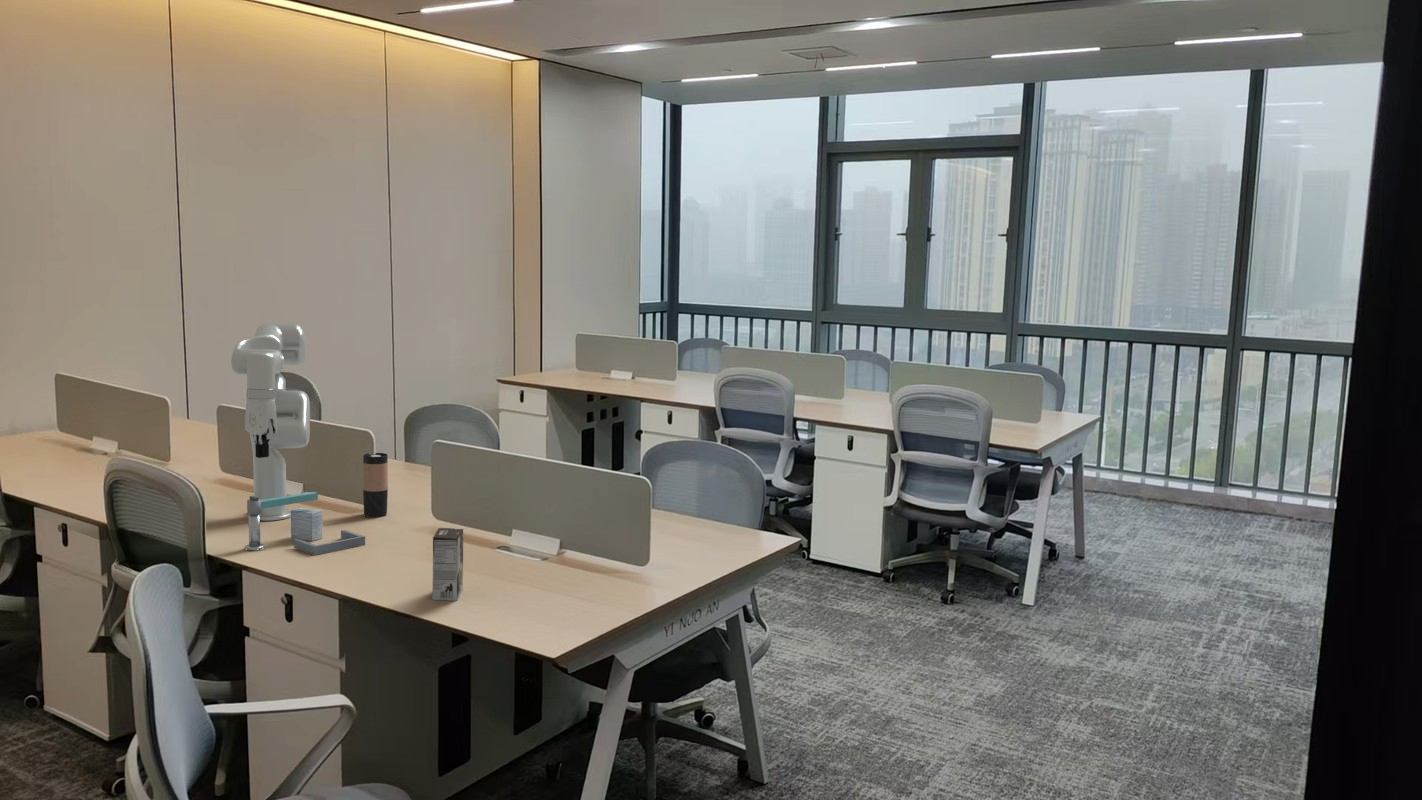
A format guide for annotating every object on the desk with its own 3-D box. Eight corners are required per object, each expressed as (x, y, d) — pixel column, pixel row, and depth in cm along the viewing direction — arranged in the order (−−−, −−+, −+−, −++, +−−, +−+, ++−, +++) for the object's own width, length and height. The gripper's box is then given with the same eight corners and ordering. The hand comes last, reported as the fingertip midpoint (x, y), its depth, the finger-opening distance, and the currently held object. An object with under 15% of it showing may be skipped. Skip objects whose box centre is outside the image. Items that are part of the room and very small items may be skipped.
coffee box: (438, 589, 261) (438, 527, 259) (463, 589, 262) (464, 528, 260) (431, 600, 252) (431, 536, 250) (457, 600, 253) (458, 537, 251)
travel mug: (380, 518, 330) (380, 457, 327) (358, 516, 331) (358, 455, 329) (392, 513, 337) (392, 453, 335) (370, 511, 339) (370, 451, 336)
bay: (294, 548, 292) (294, 539, 292) (344, 537, 305) (344, 529, 305) (314, 555, 286) (314, 546, 286) (365, 544, 299) (365, 536, 299)
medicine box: (322, 538, 304) (322, 510, 303) (312, 542, 300) (312, 513, 299) (301, 535, 306) (300, 506, 305) (290, 538, 302) (290, 510, 301)
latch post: (241, 548, 290) (241, 514, 289) (258, 545, 294) (258, 511, 293) (250, 551, 287) (250, 517, 286) (267, 548, 291) (267, 514, 290)
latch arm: (244, 513, 289) (244, 496, 288) (312, 501, 305) (312, 486, 305) (251, 515, 287) (251, 498, 286) (319, 503, 303) (318, 488, 302)
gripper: (235, 392, 297) (236, 455, 299) (262, 398, 288) (263, 462, 290) (260, 391, 303) (261, 452, 305) (287, 396, 294) (288, 459, 296)
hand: (262, 456), depth 298 cm, fingers closed
